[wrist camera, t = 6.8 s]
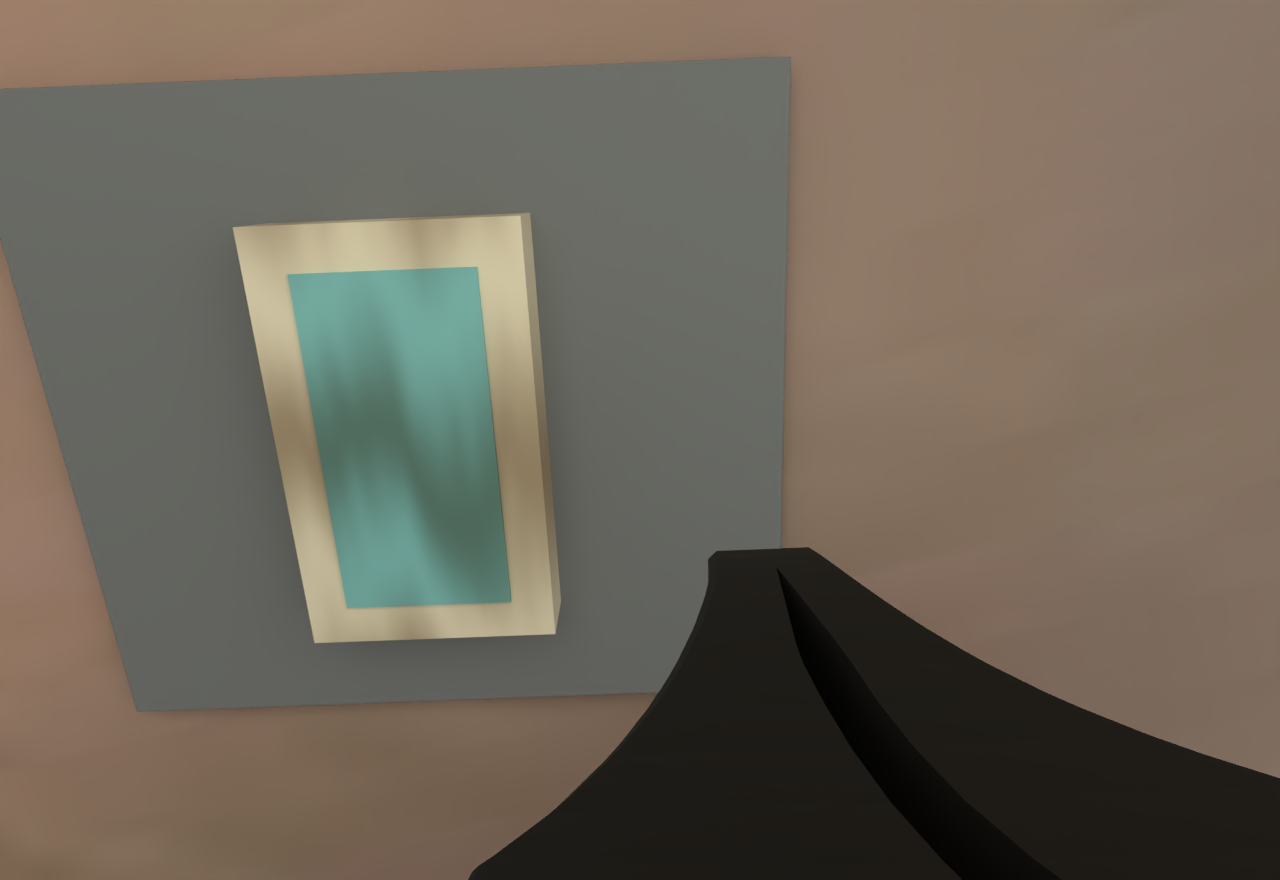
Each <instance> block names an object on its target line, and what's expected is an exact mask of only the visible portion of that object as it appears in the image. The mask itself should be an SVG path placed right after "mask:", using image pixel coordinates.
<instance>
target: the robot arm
mask: <svg viewBox="0 0 1280 880" xmlns="http://www.w3.org/2000/svg"><path fill="white" fill-rule="evenodd" d="M468 880H1280V778H1277V777H1273V776H1270V775H1267V774H1264V773H1261V772H1258V771H1255V770H1251V769H1248V768H1245V767H1242V766H1239V765H1236V764H1233V763H1229V762H1226V761H1223V760H1220V759H1217V758H1214V757H1210V756H1207V755H1204V754H1201V753H1198V752H1195V751H1193V750H1190V749H1187V748H1184V747H1181V746H1178V745H1176V744H1173V743H1170V742H1167V741H1164V740H1161V739H1159V738H1156V737H1153V736H1150V735H1148V734H1145V733H1142V732H1140V731H1137V730H1135V729H1132V728H1130V727H1127V726H1125V725H1122V724H1120V723H1117V722H1115V721H1112V720H1110V719H1107V718H1105V717H1102V716H1100V715H1097V714H1095V713H1092V712H1090V711H1087V710H1085V709H1082V708H1080V707H1077V706H1075V705H1073V704H1071V703H1068V702H1066V701H1064V700H1061V699H1059V698H1057V697H1055V696H1052V695H1050V694H1048V693H1046V692H1044V691H1042V690H1039V689H1037V688H1035V687H1033V686H1031V685H1029V684H1027V683H1025V682H1023V681H1021V680H1019V679H1017V678H1015V677H1013V676H1011V675H1009V674H1007V673H1005V672H1003V671H1001V670H999V669H997V668H995V667H993V666H991V665H989V664H987V663H985V662H983V661H982V660H980V659H978V658H976V657H974V656H972V655H971V654H969V653H967V652H965V651H963V650H962V649H960V648H958V647H957V646H955V645H953V644H952V643H950V642H948V641H947V640H945V639H943V638H942V637H940V636H938V635H937V634H935V633H933V632H932V631H930V630H928V629H927V628H925V627H923V626H922V625H920V624H919V623H917V622H916V621H914V620H913V619H911V618H909V617H908V616H906V615H905V614H903V613H902V612H900V611H899V610H897V609H896V608H894V607H893V606H891V605H890V604H888V603H887V602H886V601H884V600H883V599H881V598H880V597H878V596H877V595H875V594H874V593H873V592H871V591H870V590H868V589H867V588H866V587H864V586H863V585H861V584H860V583H859V582H857V581H856V580H854V579H853V578H852V577H850V576H849V575H848V574H846V573H845V572H843V571H842V570H841V569H839V568H838V567H836V566H835V565H834V564H832V563H831V562H830V561H828V560H827V559H825V558H824V557H823V556H821V555H820V554H818V553H817V552H815V551H813V550H812V549H810V548H808V547H806V548H779V549H753V550H727V551H716V552H715V553H714V554H713V555H712V556H711V557H710V558H709V559H708V586H707V590H706V594H705V598H704V600H703V603H702V606H701V609H700V612H699V614H698V617H697V620H696V623H695V625H694V628H693V630H692V632H691V634H690V636H689V638H688V640H687V642H686V645H685V647H684V649H683V651H682V653H681V655H680V657H679V659H678V661H677V663H676V665H675V666H674V668H673V670H672V672H671V673H670V675H669V677H668V678H667V680H666V682H665V683H664V685H663V687H662V688H661V690H660V691H659V693H658V694H657V696H656V697H655V699H654V700H653V702H652V703H651V705H650V706H649V707H648V709H647V710H646V712H645V713H644V714H643V715H642V717H641V718H640V719H639V721H638V722H637V723H636V724H635V726H634V727H633V728H632V729H631V731H630V732H629V733H628V735H627V736H626V737H625V738H624V740H623V741H622V742H621V743H620V744H619V745H618V747H617V748H616V749H615V750H614V751H613V752H612V754H611V755H610V756H609V757H608V758H607V759H606V760H605V761H604V762H603V763H602V764H601V765H600V766H599V767H598V768H597V769H596V770H595V771H594V772H593V773H592V774H591V775H590V776H589V777H588V778H587V779H586V780H585V781H584V782H583V783H582V784H581V785H580V786H579V787H578V788H577V789H576V790H575V791H574V792H573V793H572V794H570V795H569V796H568V797H567V798H566V799H565V800H564V801H563V802H562V803H561V804H560V805H559V806H558V807H557V808H556V809H555V810H553V811H552V812H551V813H550V814H549V815H548V816H546V817H545V818H544V819H542V820H541V821H540V822H538V823H537V824H536V825H534V826H533V827H532V828H530V829H529V830H528V831H526V832H525V833H524V834H522V835H521V836H520V837H518V838H517V839H516V840H514V841H513V842H512V843H510V844H509V845H508V846H506V847H505V848H504V849H502V850H501V851H500V852H498V853H497V854H496V855H494V856H493V857H491V858H490V859H488V860H487V861H485V862H484V863H482V864H481V865H479V866H478V867H477V868H476V869H475V870H474V871H473V872H472V873H471V875H470V877H469V879H468Z"/></svg>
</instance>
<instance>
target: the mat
mask: <svg viewBox="0 0 1280 880" xmlns="http://www.w3.org/2000/svg"><path fill="white" fill-rule="evenodd" d="M790 75H791V57H769V58H744V59H720V60H696V61H672V62H647V63H623V64H599V65H574V66H550V67H526V68H501V69H477V70H453V71H428V72H404V73H380V74H356V75H331V76H307V77H283V78H258V79H234V80H210V81H185V82H161V83H137V84H112V85H88V86H64V87H40V88H15V89H0V240H1V243H2V246H3V250H4V253H5V257H6V260H7V264H8V267H9V271H10V274H11V277H12V281H13V284H14V288H15V291H16V295H17V298H18V302H19V305H20V309H21V312H22V315H23V319H24V322H25V326H26V329H27V333H28V336H29V340H30V343H31V347H32V350H33V353H34V357H35V360H36V364H37V367H38V371H39V374H40V378H41V381H42V385H43V388H44V391H45V395H46V398H47V402H48V405H49V409H50V412H51V416H52V419H53V423H54V426H55V429H56V433H57V436H58V440H59V443H60V447H61V450H62V454H63V457H64V461H65V464H66V467H67V471H68V474H69V478H70V481H71V485H72V488H73V492H74V495H75V499H76V502H77V505H78V509H79V512H80V516H81V519H82V523H83V526H84V530H85V533H86V537H87V540H88V543H89V547H90V550H91V554H92V557H93V561H94V564H95V568H96V571H97V575H98V578H99V581H100V585H101V588H102V592H103V595H104V599H105V602H106V606H107V609H108V613H109V616H110V619H111V623H112V626H113V630H114V633H115V637H116V640H117V644H118V647H119V651H120V654H121V657H122V661H123V664H124V668H125V671H126V675H127V678H128V682H129V685H130V689H131V692H132V695H133V699H134V702H135V706H136V709H137V712H140V711H167V710H194V709H221V708H248V707H275V706H302V705H329V704H356V703H383V702H410V701H437V700H464V699H491V698H518V697H545V696H572V695H599V694H626V693H653V692H659V691H660V690H661V688H662V687H663V685H664V683H665V682H666V680H667V678H668V677H669V675H670V673H671V672H672V670H673V668H674V666H675V665H676V663H677V661H678V659H679V657H680V655H681V653H682V651H683V649H684V647H685V645H686V642H687V640H688V638H689V636H690V634H691V632H692V630H693V628H694V625H695V623H696V620H697V617H698V614H699V612H700V609H701V606H702V603H703V600H704V598H705V594H706V590H707V586H708V559H709V558H710V557H711V556H712V555H713V554H714V553H715V552H716V551H727V550H753V549H779V548H781V506H782V458H783V410H784V362H785V314H786V267H787V219H788V171H789V123H790ZM514 213H530V217H531V230H532V242H533V255H534V267H535V280H536V292H537V305H538V317H539V330H540V343H541V355H542V368H543V380H544V393H545V405H546V418H547V430H548V443H549V456H550V468H551V481H552V493H553V506H554V518H555V531H556V543H557V556H558V569H559V581H560V594H561V605H560V610H559V616H558V622H557V627H556V633H555V634H545V635H518V636H491V637H464V638H438V639H411V640H384V641H357V642H331V643H314V638H313V633H312V628H311V623H310V618H309V612H308V607H307V602H306V597H305V592H304V587H303V582H302V577H301V572H300V567H299V562H298V557H297V552H296V546H295V541H294V536H293V531H292V526H291V521H290V516H289V511H288V506H287V501H286V496H285V491H284V486H283V480H282V475H281V470H280V465H279V460H278V455H277V450H276V445H275V440H274V435H273V430H272V425H271V420H270V414H269V409H268V404H267V399H266V394H265V389H264V384H263V379H262V374H261V369H260V364H259V359H258V354H257V348H256V343H255V338H254V333H253V328H252V323H251V318H250V313H249V308H248V303H247V298H246V293H245V288H244V282H243V277H242V272H241V267H240V262H239V257H238V252H237V247H236V242H235V237H234V232H233V227H239V226H248V225H257V224H267V223H290V222H315V221H340V220H365V219H390V218H415V217H440V216H465V215H489V214H514Z"/></svg>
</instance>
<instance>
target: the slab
mask: <svg viewBox="0 0 1280 880" xmlns="http://www.w3.org/2000/svg"><path fill="white" fill-rule="evenodd" d="M233 232H234V237H235V242H236V247H237V252H238V257H239V262H240V267H241V272H242V277H243V282H244V288H245V293H246V298H247V303H248V308H249V313H250V318H251V323H252V328H253V333H254V338H255V343H256V348H257V354H258V359H259V364H260V369H261V374H262V379H263V384H264V389H265V394H266V399H267V404H268V409H269V414H270V420H271V425H272V430H273V435H274V440H275V445H276V450H277V455H278V460H279V465H280V470H281V475H282V480H283V486H284V491H285V496H286V501H287V506H288V511H289V516H290V521H291V526H292V531H293V536H294V541H295V546H296V552H297V557H298V562H299V567H300V572H301V577H302V582H303V587H304V592H305V597H306V602H307V607H308V612H309V618H310V623H311V628H312V633H313V638H314V643H331V642H357V641H384V640H411V639H438V638H464V637H491V636H518V635H545V634H555V633H556V627H557V622H558V616H559V610H560V605H561V594H560V581H559V569H558V556H557V543H556V531H555V518H554V506H553V493H552V481H551V468H550V456H549V443H548V430H547V418H546V405H545V393H544V380H543V368H542V355H541V343H540V330H539V317H538V305H537V292H536V280H535V267H534V255H533V242H532V230H531V217H530V213H514V214H489V215H465V216H440V217H415V218H390V219H365V220H340V221H315V222H290V223H267V224H257V225H248V226H239V227H233Z"/></svg>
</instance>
